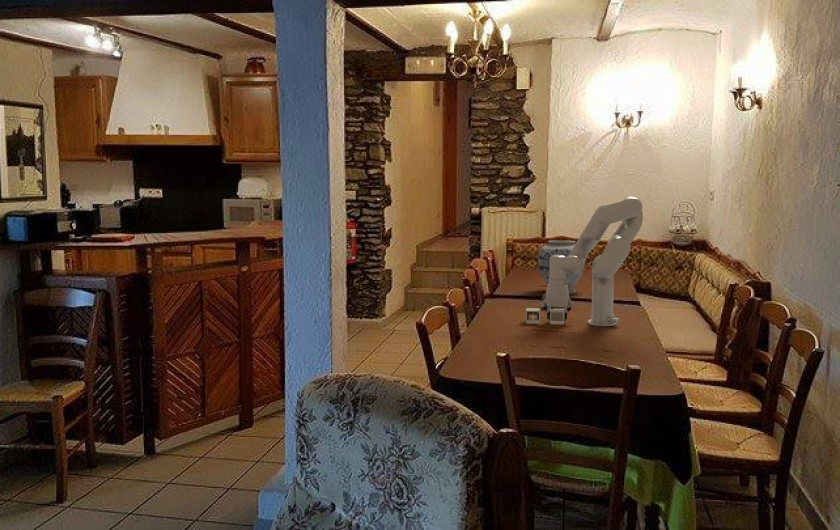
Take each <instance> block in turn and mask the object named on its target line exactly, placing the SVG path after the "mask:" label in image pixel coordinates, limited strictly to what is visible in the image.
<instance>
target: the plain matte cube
mask: <svg viewBox="0 0 840 530" xmlns="http://www.w3.org/2000/svg"><path fill="white" fill-rule="evenodd" d="M529 313H538V314H537V320H529ZM525 324H527V325H528V324H529V325H530V324H531V325H533V324H535V325H536V324H537V325H540V324H541V308H538V307H535V308H534V307H531V308H529V307H525Z"/></svg>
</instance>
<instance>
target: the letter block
mask: <svg viewBox="0 0 840 530" xmlns="http://www.w3.org/2000/svg"><path fill="white" fill-rule="evenodd" d="M537 314H538V313H529V320H537Z"/></svg>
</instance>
